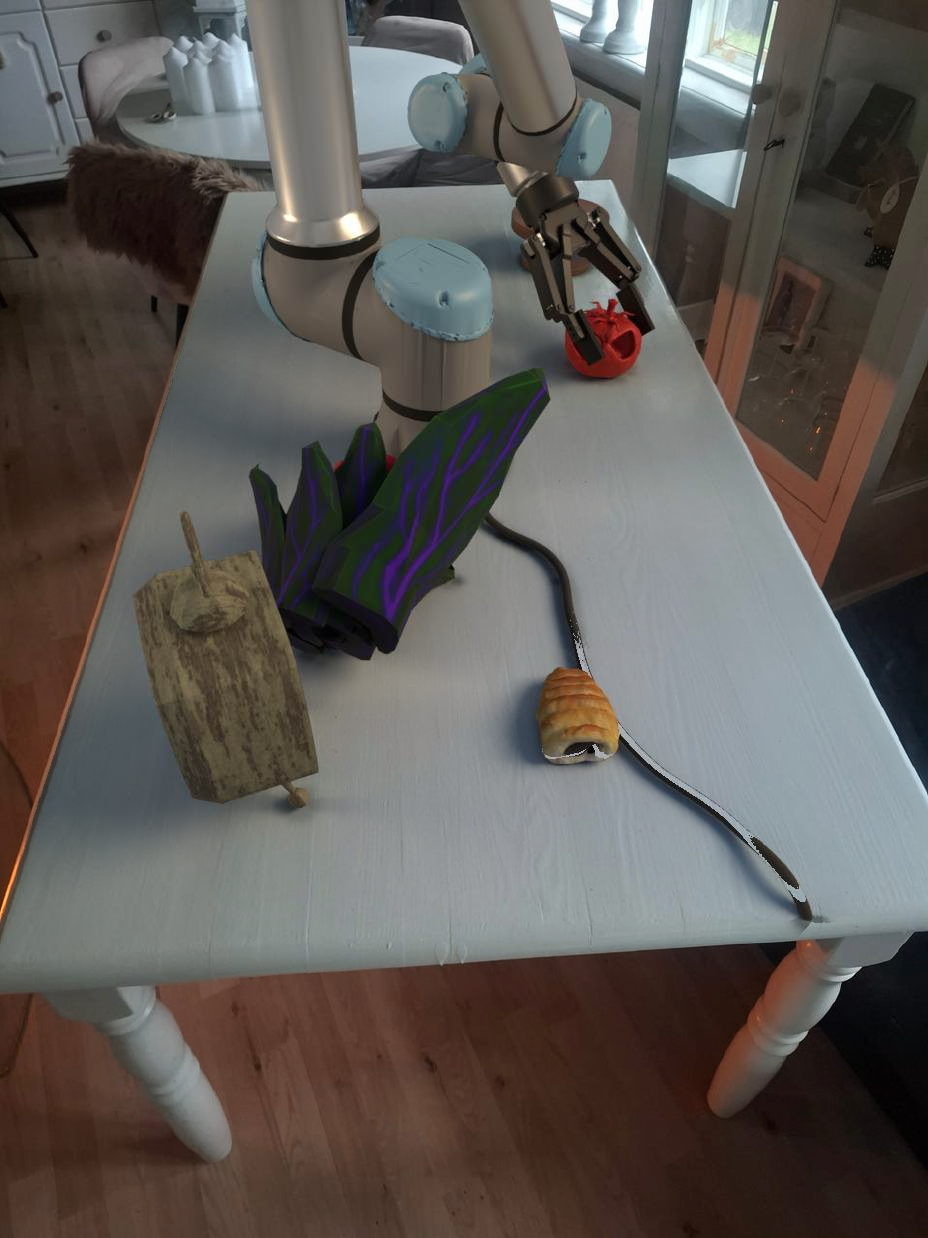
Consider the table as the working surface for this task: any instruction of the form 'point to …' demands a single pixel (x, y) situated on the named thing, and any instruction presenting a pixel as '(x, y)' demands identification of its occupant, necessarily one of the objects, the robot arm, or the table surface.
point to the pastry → (575, 718)
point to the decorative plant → (388, 519)
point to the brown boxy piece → (225, 677)
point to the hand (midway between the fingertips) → (622, 347)
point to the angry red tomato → (608, 342)
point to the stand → (524, 232)
